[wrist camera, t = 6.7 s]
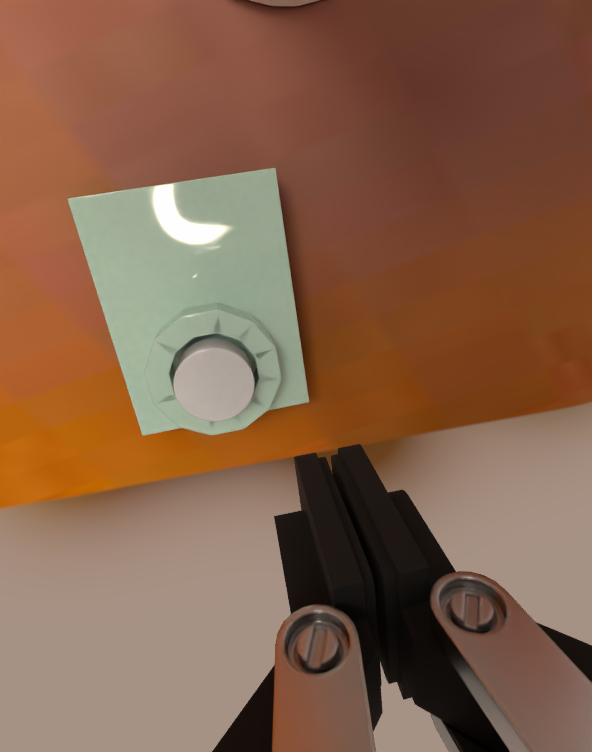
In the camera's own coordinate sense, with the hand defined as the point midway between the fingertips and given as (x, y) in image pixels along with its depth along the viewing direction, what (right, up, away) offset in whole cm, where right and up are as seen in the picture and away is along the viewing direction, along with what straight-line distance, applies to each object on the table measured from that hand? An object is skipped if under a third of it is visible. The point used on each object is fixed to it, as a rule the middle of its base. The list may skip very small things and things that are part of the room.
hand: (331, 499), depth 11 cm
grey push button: (-5, +3, +13) cm, 14 cm away
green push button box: (-6, +8, +16) cm, 19 cm away
